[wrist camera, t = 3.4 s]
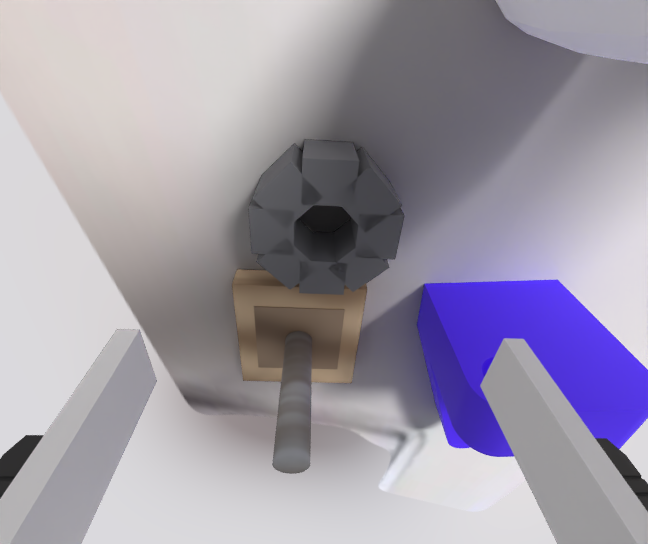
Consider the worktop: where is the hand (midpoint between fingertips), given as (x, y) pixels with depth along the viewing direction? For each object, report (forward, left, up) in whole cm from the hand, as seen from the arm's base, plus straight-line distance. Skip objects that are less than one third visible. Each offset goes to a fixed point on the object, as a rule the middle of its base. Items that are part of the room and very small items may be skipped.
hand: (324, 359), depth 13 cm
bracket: (+14, +15, -14) cm, 25 cm away
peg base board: (+11, -1, -13) cm, 17 cm away
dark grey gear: (0, 0, -13) cm, 13 cm away
